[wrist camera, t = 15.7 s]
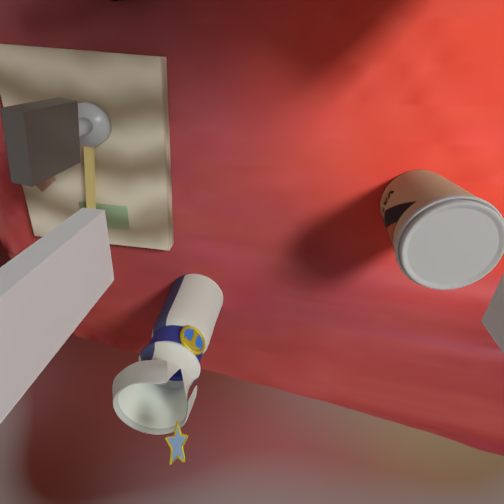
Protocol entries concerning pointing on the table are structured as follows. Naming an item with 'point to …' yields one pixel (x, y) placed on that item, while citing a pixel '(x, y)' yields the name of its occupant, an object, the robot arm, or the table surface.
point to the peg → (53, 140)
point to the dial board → (113, 149)
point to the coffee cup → (441, 230)
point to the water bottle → (170, 363)
